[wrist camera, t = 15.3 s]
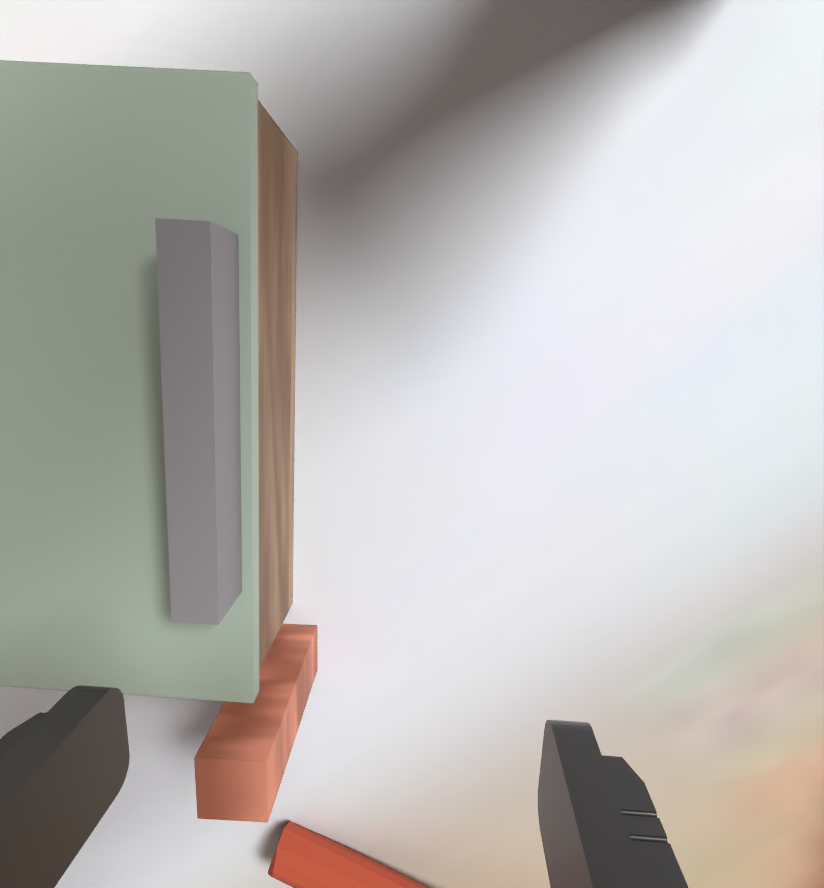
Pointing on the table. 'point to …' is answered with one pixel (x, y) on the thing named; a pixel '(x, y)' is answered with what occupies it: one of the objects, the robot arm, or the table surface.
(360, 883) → the mallet
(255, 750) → the pin
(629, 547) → the table surface
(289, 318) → the toolbox
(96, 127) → the toolbox lid
